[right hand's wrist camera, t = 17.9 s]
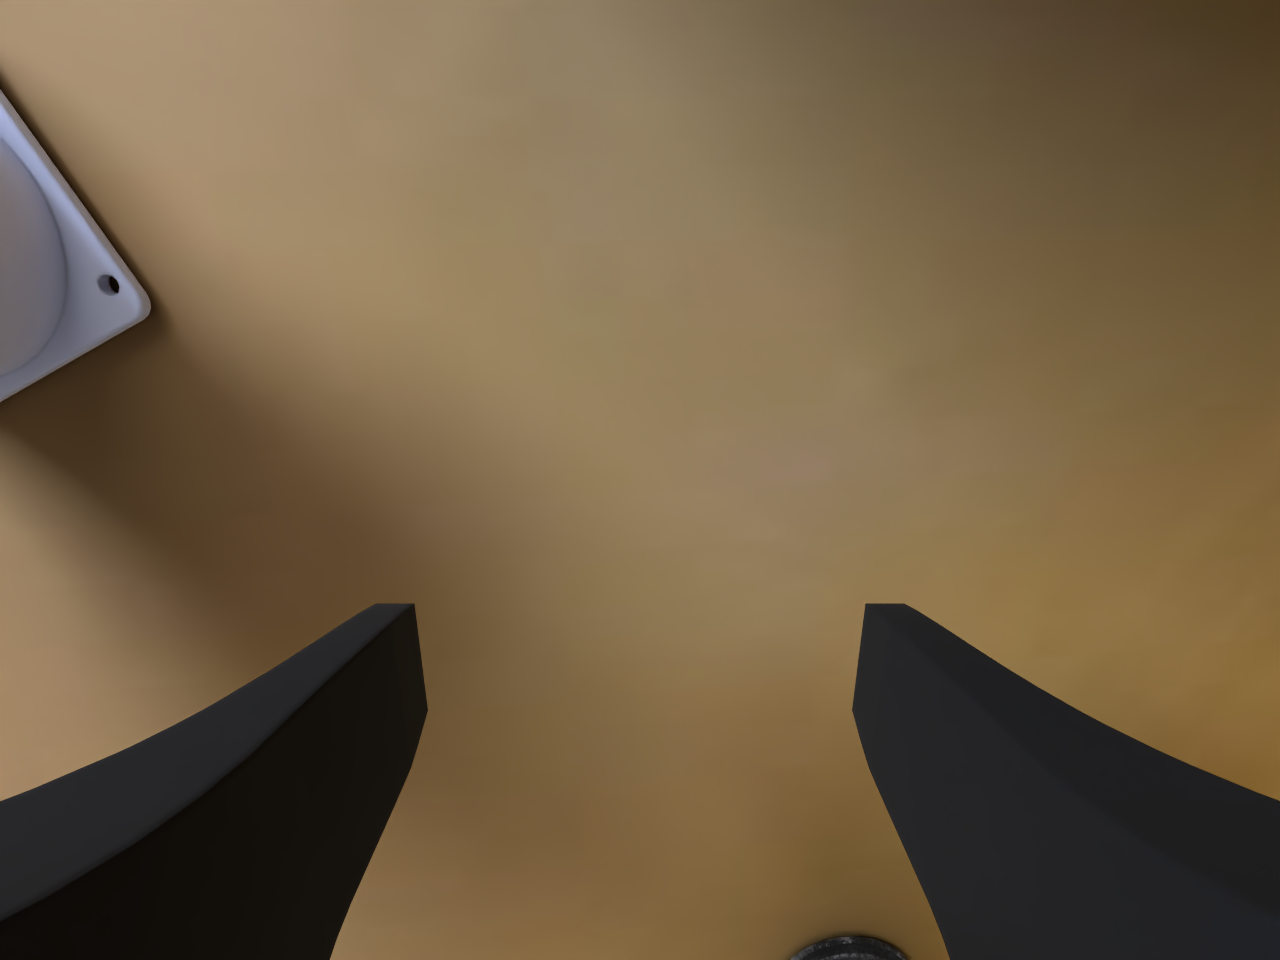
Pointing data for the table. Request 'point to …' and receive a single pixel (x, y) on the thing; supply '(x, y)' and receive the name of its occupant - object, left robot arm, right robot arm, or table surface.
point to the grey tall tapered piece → (850, 950)
